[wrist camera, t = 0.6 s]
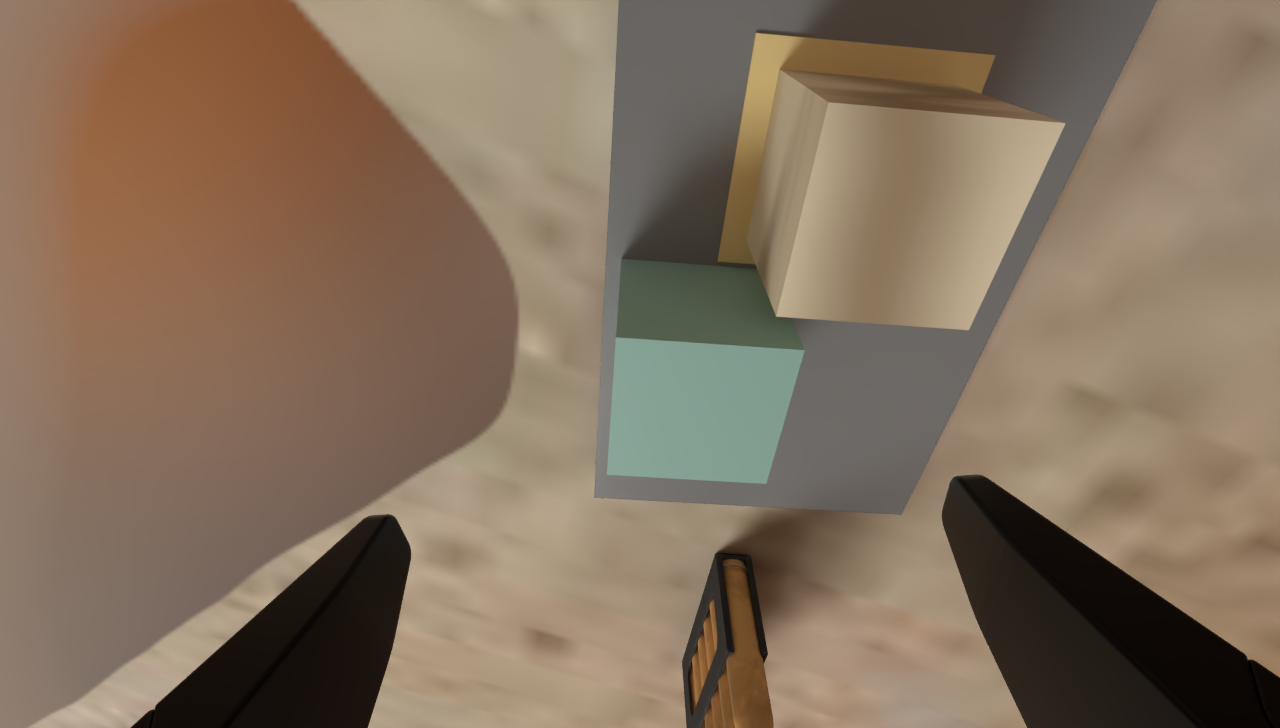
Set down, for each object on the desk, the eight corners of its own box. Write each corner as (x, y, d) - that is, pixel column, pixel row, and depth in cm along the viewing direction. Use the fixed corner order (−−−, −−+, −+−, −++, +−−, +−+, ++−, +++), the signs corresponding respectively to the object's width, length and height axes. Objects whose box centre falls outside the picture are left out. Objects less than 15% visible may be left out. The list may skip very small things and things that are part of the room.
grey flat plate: (1131, -7, 16) (1162, -7, 15) (893, 498, 27) (902, 516, 26) (622, -58, 15) (621, -60, 14) (595, 481, 26) (594, 499, 25)
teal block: (769, 269, 19) (804, 350, 15) (742, 388, 22) (766, 484, 18) (621, 258, 19) (615, 337, 15) (613, 380, 22) (607, 474, 18)
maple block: (955, 85, 16) (1065, 123, 12) (896, 251, 19) (968, 330, 15) (779, 68, 16) (828, 102, 12) (745, 240, 19) (775, 316, 14)
